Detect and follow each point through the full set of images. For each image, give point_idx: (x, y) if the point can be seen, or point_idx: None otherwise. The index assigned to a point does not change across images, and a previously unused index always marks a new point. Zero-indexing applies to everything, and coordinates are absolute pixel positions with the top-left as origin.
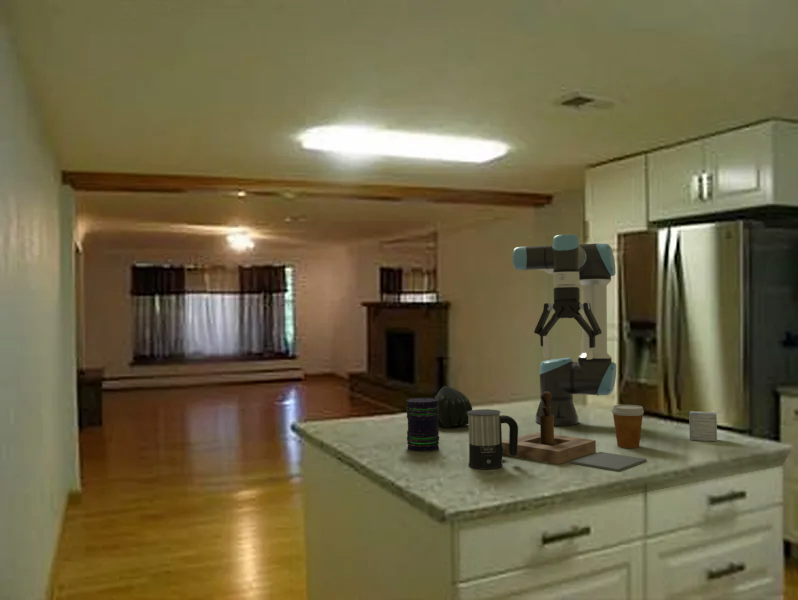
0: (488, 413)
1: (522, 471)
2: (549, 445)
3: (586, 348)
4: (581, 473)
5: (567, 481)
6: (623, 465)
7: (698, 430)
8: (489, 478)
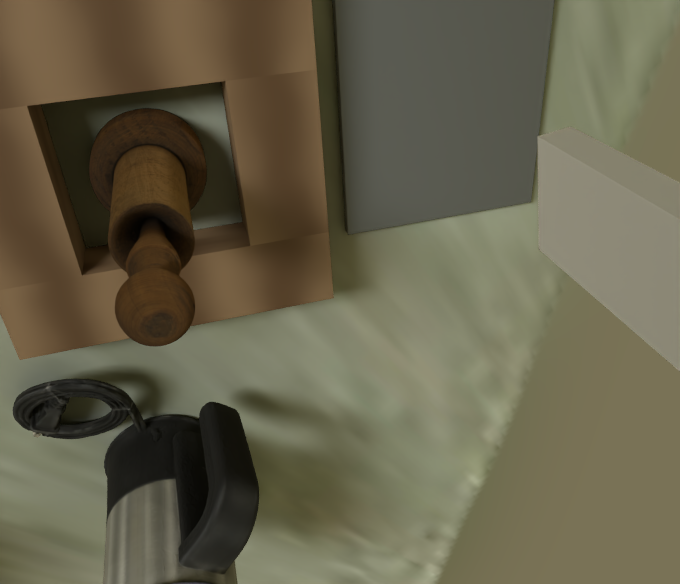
0: None
1: (301, 413)
2: (189, 202)
3: (631, 325)
4: (446, 301)
5: (460, 386)
6: (525, 142)
7: None
8: (291, 510)
